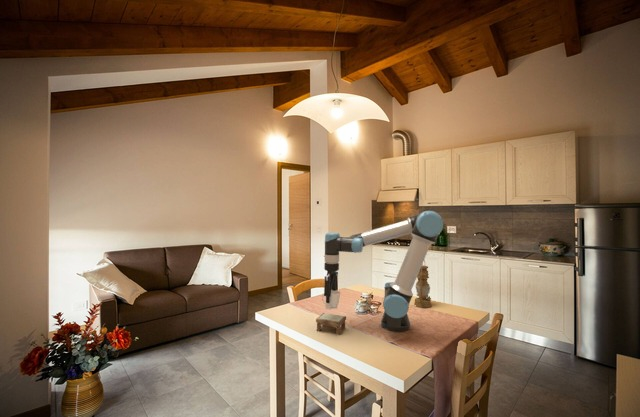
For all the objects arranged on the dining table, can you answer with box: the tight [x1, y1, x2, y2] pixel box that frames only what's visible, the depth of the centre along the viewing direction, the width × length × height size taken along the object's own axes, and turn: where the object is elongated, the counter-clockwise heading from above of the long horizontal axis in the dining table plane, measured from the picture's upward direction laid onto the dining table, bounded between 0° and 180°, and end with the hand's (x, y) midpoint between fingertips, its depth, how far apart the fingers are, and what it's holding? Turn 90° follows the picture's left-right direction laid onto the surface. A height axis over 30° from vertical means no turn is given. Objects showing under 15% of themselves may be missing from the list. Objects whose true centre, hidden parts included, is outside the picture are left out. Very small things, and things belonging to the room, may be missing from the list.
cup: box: [321, 290, 341, 310], centre depth 157 cm, size 7×10×8 cm
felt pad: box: [319, 312, 345, 322], centre depth 157 cm, size 11×8×1 cm
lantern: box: [414, 259, 432, 308], centre depth 196 cm, size 15×10×30 cm
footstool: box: [315, 312, 347, 335], centre depth 157 cm, size 13×10×6 cm
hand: (330, 306), depth 157 cm, fingers closed on cup, 7 cm apart
